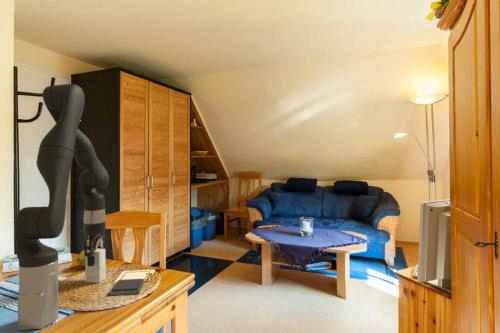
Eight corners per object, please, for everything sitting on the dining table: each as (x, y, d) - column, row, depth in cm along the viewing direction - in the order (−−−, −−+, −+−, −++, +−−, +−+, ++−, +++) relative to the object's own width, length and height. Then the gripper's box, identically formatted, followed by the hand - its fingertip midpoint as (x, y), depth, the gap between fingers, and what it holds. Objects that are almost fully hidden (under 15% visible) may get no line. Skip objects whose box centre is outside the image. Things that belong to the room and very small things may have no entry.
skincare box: (106, 278, 116) (106, 248, 116) (99, 283, 111) (99, 251, 111) (91, 278, 116) (91, 248, 116) (84, 282, 112) (84, 251, 112)
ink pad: (139, 293, 102) (139, 288, 102) (109, 295, 101) (109, 290, 101) (145, 282, 112) (145, 277, 112) (117, 283, 111) (117, 279, 111)
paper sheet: (149, 281, 113) (149, 280, 113) (114, 283, 111) (114, 282, 111) (154, 270, 125) (154, 269, 125) (123, 271, 123) (123, 270, 123)
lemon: (94, 261, 136) (94, 244, 136) (105, 264, 132) (105, 246, 132) (71, 268, 127) (70, 250, 126) (81, 271, 123) (81, 253, 123)
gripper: (98, 224, 107) (98, 268, 108) (110, 217, 121) (111, 255, 122) (76, 225, 106) (77, 269, 107) (91, 217, 120) (91, 256, 121)
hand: (95, 261), depth 114 cm, fingers open, 8 cm apart
